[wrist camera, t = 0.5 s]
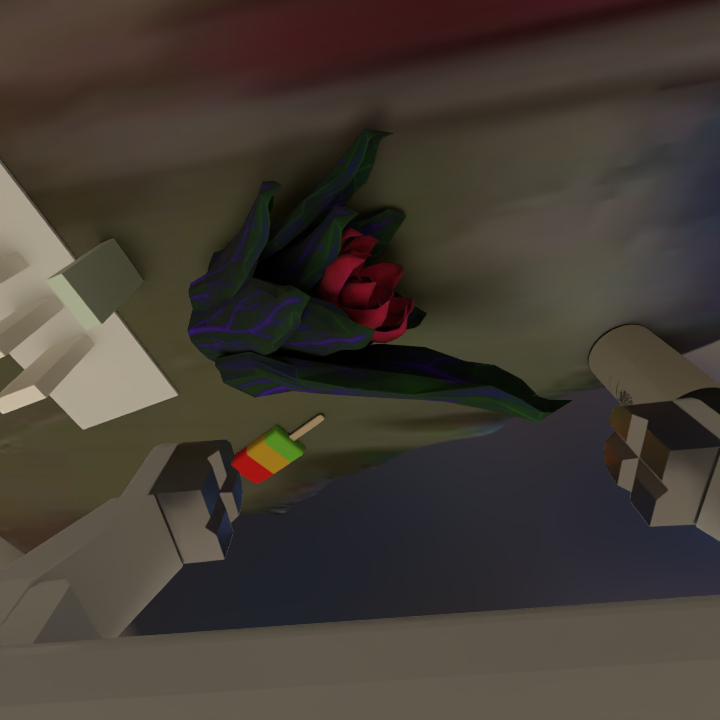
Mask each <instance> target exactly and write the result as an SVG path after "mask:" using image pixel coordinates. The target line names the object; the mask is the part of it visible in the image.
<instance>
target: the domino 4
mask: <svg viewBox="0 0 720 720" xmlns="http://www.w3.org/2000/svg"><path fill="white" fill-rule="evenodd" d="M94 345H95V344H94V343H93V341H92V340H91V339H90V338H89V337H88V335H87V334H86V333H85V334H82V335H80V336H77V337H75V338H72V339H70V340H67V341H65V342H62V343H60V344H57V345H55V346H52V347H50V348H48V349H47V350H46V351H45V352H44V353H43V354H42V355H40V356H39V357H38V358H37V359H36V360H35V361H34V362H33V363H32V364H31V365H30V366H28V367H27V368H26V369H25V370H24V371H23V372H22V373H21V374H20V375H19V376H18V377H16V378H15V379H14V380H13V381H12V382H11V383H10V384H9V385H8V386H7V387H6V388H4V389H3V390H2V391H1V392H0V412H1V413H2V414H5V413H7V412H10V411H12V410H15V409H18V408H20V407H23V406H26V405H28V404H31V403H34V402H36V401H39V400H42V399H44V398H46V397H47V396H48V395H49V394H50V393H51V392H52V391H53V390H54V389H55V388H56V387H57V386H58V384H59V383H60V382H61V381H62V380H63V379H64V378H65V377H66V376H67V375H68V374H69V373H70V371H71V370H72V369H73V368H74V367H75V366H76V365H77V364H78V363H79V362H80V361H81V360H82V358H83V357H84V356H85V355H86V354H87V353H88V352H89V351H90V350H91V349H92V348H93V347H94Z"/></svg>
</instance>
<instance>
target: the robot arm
mask: <svg viewBox="0 0 720 720" xmlns="http://www.w3.org/2000/svg"><path fill="white" fill-rule="evenodd" d="M609 423H610V425H611V426H612V427H613V429H614V430H615V432H614V433H613V434H612V435H611V436H610V437H609V438H608V439H607V440H606V445H605V451H604V455H605V461H606V466H607V468H608V471H609V473H610V475H611V477H612V478H613V480H614V481H615V482H616V484H617V485H619V486H621V487H623V488H624V489H627V490H628V491H630V492H631V497H630V502H631V503H632V504H633V506H634V507H635V508H636V509H637V511H638V512H639V513H640V515H641V516H642V517H643V519H644V520H645V521H646V522H647V524H648V525H649V526H669V525H688V524H689V525H690V524H696V527H698V528H699V529H701V530H702V531H704V532H706V533H707V534H709V535H710V536H712V537H714V538H715V539H717V540H718V541H720V414H718V413H717V412H715V411H714V410H713V409H711V408H710V407H709V406H707V405H706V404H705V403H703V402H702V401H701V400H698V399H694V398H684V399H675V400H667V401H663V402H653V403H643V404H633V405H623V406H616V407H615V408H614V409H613V411H612V413H611V417H610V422H609ZM234 456H235V455H234V452H233V449H232V446H231V443H230V442H229V441H227V440H215V441H199V442H184V443H172V444H161V445H158V446H155V447H154V448H153V449H152V451H151V452H150V454H149V455H148V456H147V458H146V459H145V461H144V462H143V464H142V465H141V467H140V468H139V470H138V471H137V473H136V474H135V476H134V477H133V479H132V480H131V482H130V483H129V485H128V486H127V488H126V489H125V490H124V492H123V493H122V495H121V496H120V498H112V499H110V500H109V501H107V502H106V503H104V504H103V505H101V506H100V507H98V508H96V509H95V510H93V511H92V512H90V513H89V514H87V515H86V516H84V517H83V518H81V519H80V520H78V521H76V522H75V523H73V524H72V525H70V526H69V527H67V528H66V529H64V530H63V531H61V532H59V533H58V534H56V535H55V536H53V537H52V538H50V539H49V540H47V541H46V542H44V543H43V544H41V545H39V546H38V547H36V548H35V549H33V550H32V551H30V552H29V553H27V554H26V555H24V556H22V557H21V558H19V559H18V560H16V561H15V562H13V563H12V564H10V565H9V566H7V567H5V568H4V569H2V570H1V571H0V720H720V595H714V596H699V597H686V598H670V599H656V600H642V601H628V602H614V603H601V604H586V605H571V606H558V607H543V608H528V609H514V610H501V611H487V612H472V613H458V614H444V615H430V616H416V617H402V618H388V619H374V620H360V621H346V622H332V623H318V624H305V625H290V626H277V627H262V628H248V629H233V630H219V631H207V632H191V633H178V634H163V635H150V636H137V637H121V638H116V637H117V636H118V635H119V634H120V633H121V632H122V631H123V630H124V629H125V628H126V627H127V625H129V623H130V622H131V621H132V620H133V619H134V618H135V617H136V616H137V615H138V614H139V613H140V611H142V609H143V608H144V607H145V606H146V605H147V604H148V603H149V602H150V601H151V600H152V599H153V598H154V596H155V595H156V594H157V593H158V592H159V591H160V590H161V589H162V588H163V587H164V586H165V585H166V584H167V583H168V582H169V581H170V579H171V578H172V577H173V576H174V575H175V574H176V573H177V572H178V571H179V570H180V569H181V568H182V566H183V565H182V564H185V563H193V562H204V561H213V560H222V559H225V556H226V553H227V550H228V547H229V544H230V541H231V538H232V535H233V530H232V526H231V522H232V521H233V520H234V519H235V518H236V517H237V516H239V513H240V509H241V506H242V497H243V487H242V480H241V476H240V472H239V471H238V470H237V469H235V468H234V467H233V466H232V465H231V464H232V461H233V458H234Z"/></svg>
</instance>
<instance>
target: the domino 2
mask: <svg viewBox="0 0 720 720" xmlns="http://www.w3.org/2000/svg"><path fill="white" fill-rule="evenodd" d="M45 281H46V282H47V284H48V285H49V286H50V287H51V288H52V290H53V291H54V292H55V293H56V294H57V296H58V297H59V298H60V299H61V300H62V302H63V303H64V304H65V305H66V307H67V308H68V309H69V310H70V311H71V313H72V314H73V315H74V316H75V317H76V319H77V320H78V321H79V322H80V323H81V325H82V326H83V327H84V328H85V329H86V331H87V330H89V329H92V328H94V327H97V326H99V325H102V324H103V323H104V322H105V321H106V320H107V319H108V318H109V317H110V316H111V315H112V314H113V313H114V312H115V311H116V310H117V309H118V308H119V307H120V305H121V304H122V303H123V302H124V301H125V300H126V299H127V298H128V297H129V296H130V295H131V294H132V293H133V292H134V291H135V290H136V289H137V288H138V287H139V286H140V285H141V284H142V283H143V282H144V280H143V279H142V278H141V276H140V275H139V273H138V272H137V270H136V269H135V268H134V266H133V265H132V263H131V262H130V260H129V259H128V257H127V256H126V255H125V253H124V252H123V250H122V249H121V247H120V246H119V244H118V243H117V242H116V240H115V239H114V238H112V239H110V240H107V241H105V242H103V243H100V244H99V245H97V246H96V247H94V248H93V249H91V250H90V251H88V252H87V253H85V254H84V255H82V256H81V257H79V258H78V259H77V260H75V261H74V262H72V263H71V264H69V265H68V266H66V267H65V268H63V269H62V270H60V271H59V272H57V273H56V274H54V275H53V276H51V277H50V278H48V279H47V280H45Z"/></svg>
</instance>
